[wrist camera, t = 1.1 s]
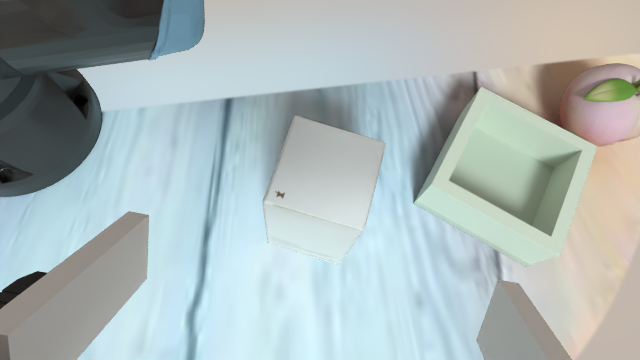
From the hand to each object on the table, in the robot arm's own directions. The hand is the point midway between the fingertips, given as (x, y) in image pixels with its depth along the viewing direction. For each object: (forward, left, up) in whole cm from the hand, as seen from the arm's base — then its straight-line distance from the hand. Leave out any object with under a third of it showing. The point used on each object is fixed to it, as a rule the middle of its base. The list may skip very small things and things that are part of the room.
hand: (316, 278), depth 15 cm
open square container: (+11, +22, -23) cm, 34 cm away
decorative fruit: (+17, +34, -24) cm, 44 cm away
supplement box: (-3, +9, -24) cm, 25 cm away
